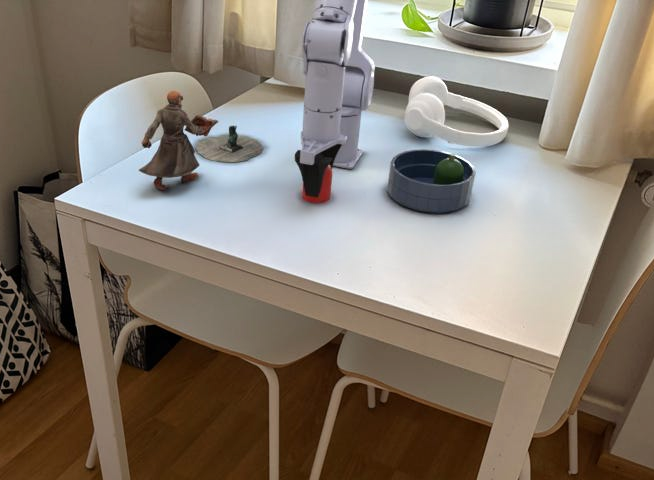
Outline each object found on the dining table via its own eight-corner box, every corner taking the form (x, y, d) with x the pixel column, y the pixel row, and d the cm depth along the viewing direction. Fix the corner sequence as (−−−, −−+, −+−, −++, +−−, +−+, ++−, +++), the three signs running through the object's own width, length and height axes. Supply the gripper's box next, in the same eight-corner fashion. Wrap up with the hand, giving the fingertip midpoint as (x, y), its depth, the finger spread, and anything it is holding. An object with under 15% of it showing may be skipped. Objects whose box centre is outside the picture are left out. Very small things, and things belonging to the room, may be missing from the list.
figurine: (216, 171, 127) (214, 82, 118) (228, 190, 122) (228, 99, 112) (134, 180, 123) (125, 89, 114) (143, 200, 118) (135, 106, 108)
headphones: (398, 140, 140) (503, 164, 138) (408, 99, 135) (518, 123, 133) (406, 104, 155) (501, 125, 153) (416, 65, 150) (514, 87, 148)
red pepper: (296, 194, 122) (298, 153, 117) (318, 187, 124) (321, 147, 120) (313, 205, 119) (316, 164, 115) (336, 198, 121) (339, 157, 117)
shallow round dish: (378, 205, 120) (382, 176, 117) (396, 171, 130) (400, 144, 127) (463, 221, 117) (469, 192, 114) (474, 185, 127) (480, 157, 124)
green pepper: (446, 204, 120) (454, 163, 116) (425, 193, 123) (432, 153, 118) (464, 196, 123) (473, 156, 118) (443, 186, 125) (450, 146, 121)
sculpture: (266, 139, 139) (265, 118, 131) (258, 185, 138) (256, 166, 130) (203, 129, 140) (198, 108, 132) (194, 175, 138) (189, 156, 130)
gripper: (335, 127, 106) (328, 213, 114) (360, 94, 117) (351, 175, 125) (288, 119, 107) (284, 204, 116) (317, 87, 118) (311, 167, 127)
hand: (316, 188), depth 121 cm, fingers closed on red pepper, 4 cm apart
